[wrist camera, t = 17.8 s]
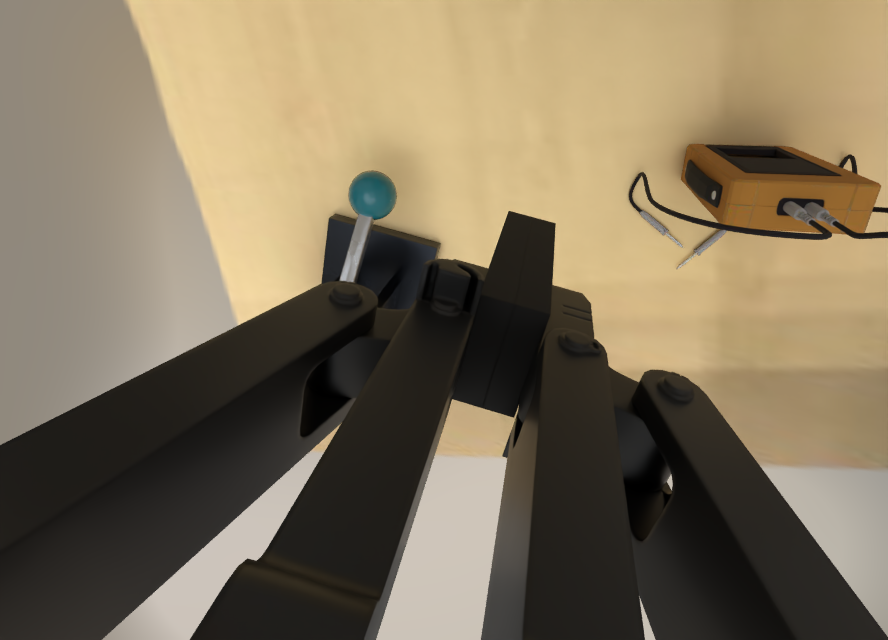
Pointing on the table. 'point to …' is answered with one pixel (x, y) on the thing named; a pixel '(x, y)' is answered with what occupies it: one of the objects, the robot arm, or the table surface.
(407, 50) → the table surface
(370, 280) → the lever base
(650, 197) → the multimeter
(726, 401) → the table surface
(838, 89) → the table surface
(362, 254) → the ball knob joystick
